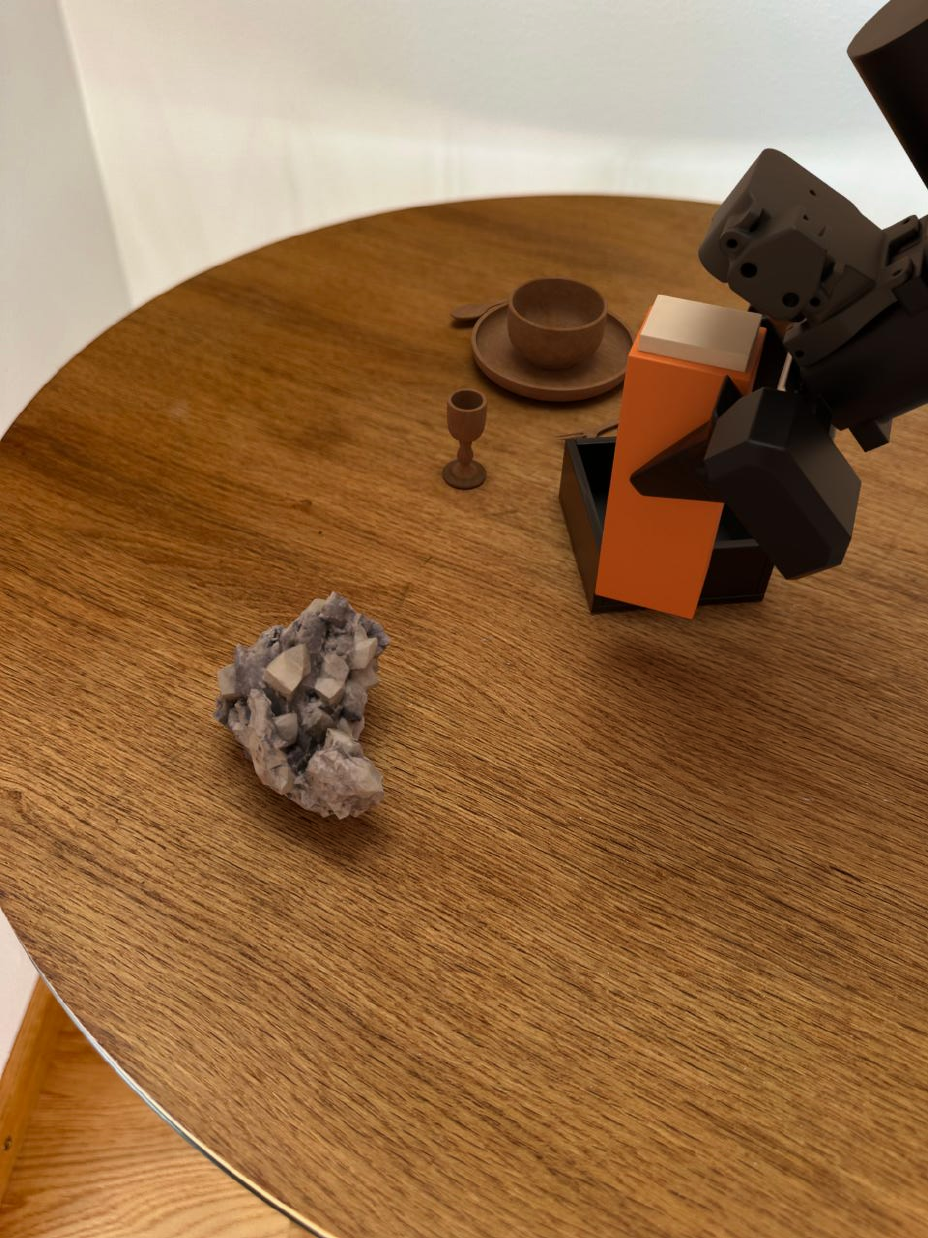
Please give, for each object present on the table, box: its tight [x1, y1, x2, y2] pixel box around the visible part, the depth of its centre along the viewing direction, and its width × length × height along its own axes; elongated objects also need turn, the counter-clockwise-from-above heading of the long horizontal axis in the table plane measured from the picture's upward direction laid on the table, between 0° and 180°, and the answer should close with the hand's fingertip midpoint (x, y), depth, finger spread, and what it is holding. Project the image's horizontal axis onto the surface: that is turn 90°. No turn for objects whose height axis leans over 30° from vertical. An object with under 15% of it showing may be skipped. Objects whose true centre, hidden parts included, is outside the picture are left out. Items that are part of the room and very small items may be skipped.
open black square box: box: [558, 435, 775, 615], centre depth 64 cm, size 10×10×5 cm
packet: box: [595, 294, 767, 620], centre depth 49 cm, size 5×4×15 cm
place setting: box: [442, 275, 637, 490], centre depth 74 cm, size 18×20×6 cm
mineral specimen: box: [210, 590, 392, 820], centre depth 52 cm, size 12×9×10 cm
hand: (646, 457), depth 50 cm, fingers closed on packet, 4 cm apart
